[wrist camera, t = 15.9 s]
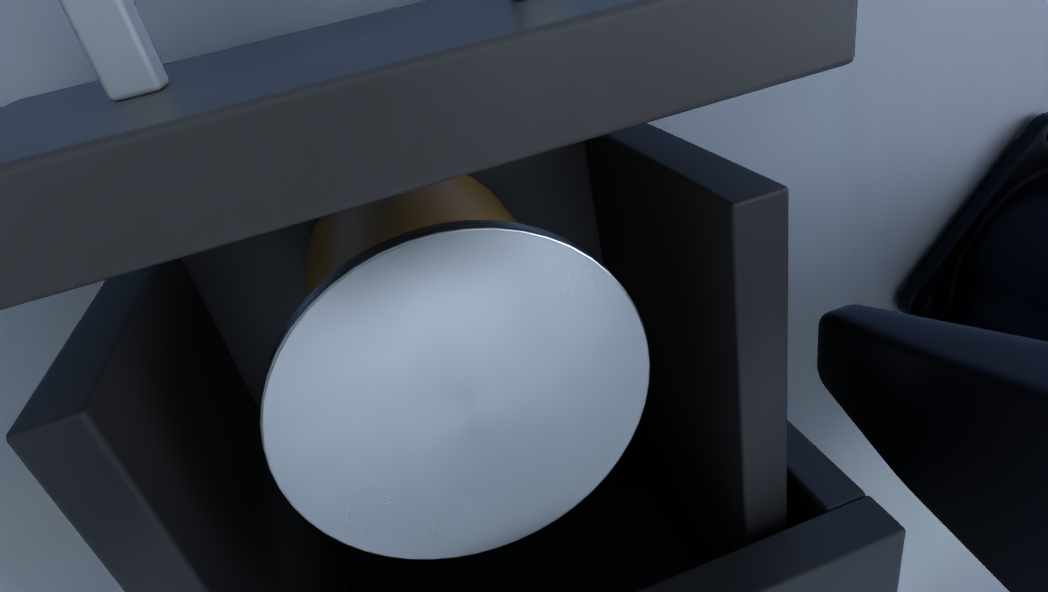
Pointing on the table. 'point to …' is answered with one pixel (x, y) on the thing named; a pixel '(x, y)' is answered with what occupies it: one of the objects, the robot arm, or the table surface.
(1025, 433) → the robot arm
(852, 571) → the mini drawer cabinet
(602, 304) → the coffee pod
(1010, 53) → the table surface
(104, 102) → the drawer
